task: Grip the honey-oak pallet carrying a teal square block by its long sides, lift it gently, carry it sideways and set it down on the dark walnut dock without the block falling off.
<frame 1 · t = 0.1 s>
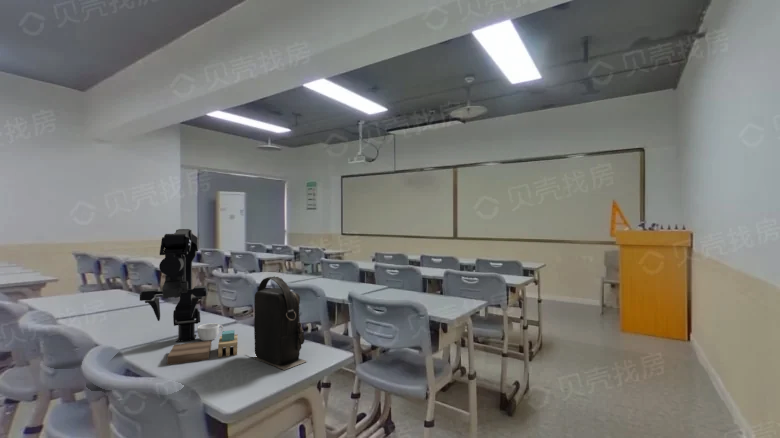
hand: (175, 319, 118), 15 cm above the table, fingers open, 9 cm apart
pallet: (228, 351, 130), on the table, touching teal square block
dock: (190, 355, 125), on the table
teal square block: (228, 339, 130), point 4 cm above the table, touching pallet
teacup: (210, 339, 144), on the table
shoulder bag: (275, 359, 122), on the table
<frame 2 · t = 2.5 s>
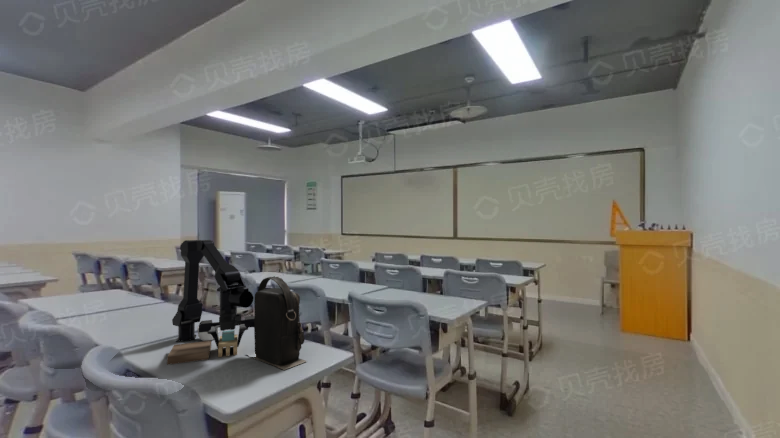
hand: (228, 347, 130), 1 cm above the table, fingers closed on pallet, 6 cm apart
pallet: (228, 351, 130), on the table, touching teal square block, gripper
everything else where it was.
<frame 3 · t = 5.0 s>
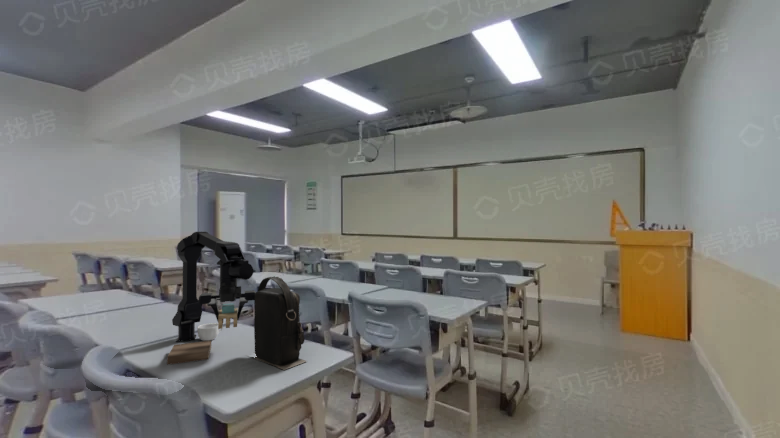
hand: (228, 320, 130), 11 cm above the table, fingers closed on pallet, 6 cm apart
pallet: (228, 324, 130), point 10 cm above the table, touching teal square block, gripper
teal square block: (228, 311, 130), point 14 cm above the table, touching pallet
everything else where it was.
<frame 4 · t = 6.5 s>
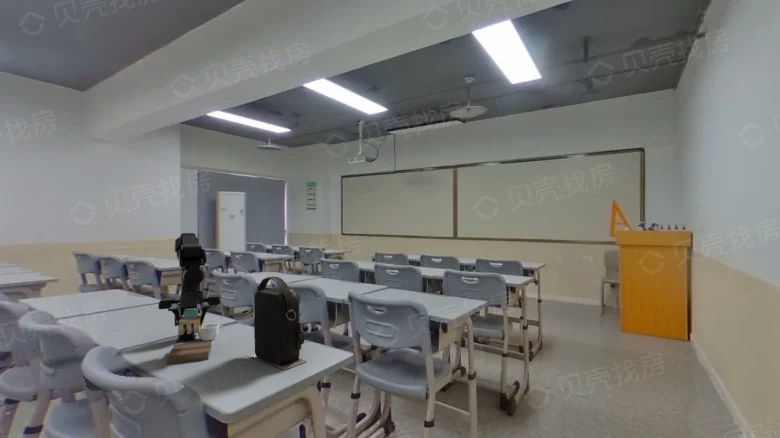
hand: (191, 326, 126), 10 cm above the table, fingers closed on pallet, 6 cm apart
pallet: (190, 329, 126), point 9 cm above the table, touching teal square block, gripper
teal square block: (191, 316, 126), point 13 cm above the table, touching pallet
everything else where it was.
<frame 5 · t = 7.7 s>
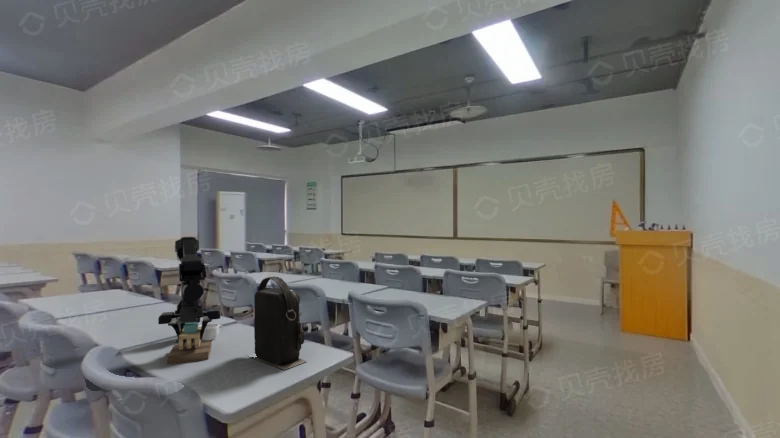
hand: (190, 340, 126), 5 cm above the table, fingers closed on pallet, 6 cm apart
pallet: (190, 344, 125), point 4 cm above the table, touching teal square block, gripper
teal square block: (190, 331, 126), point 8 cm above the table, touching pallet
everything else where it was.
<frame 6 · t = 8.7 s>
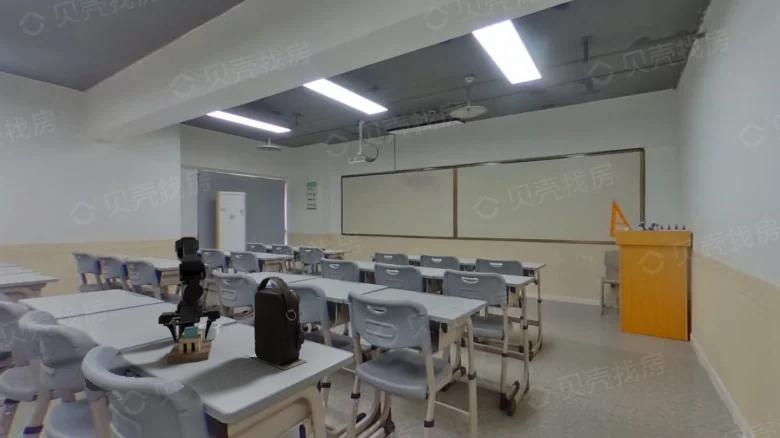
hand: (190, 340, 126), 5 cm above the table, fingers open, 9 cm apart
pallet: (190, 348, 125), point 2 cm above the table, touching teal square block, dock
teal square block: (191, 335, 126), point 7 cm above the table, touching pallet
everything else where it was.
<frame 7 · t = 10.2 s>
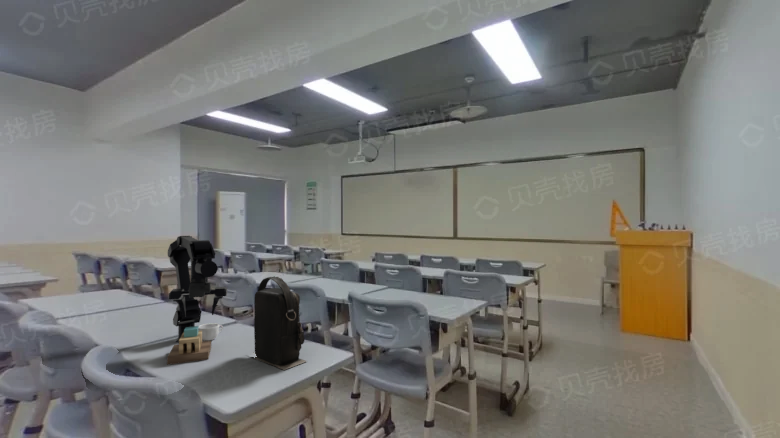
hand: (198, 315, 134), 12 cm above the table, fingers open, 9 cm apart
nothing on the table moved.
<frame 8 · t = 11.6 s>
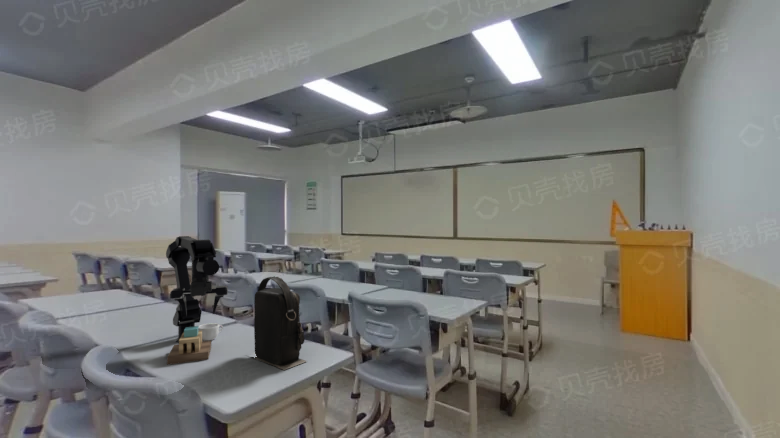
hand: (200, 314, 134), 12 cm above the table, fingers open, 9 cm apart
nothing on the table moved.
at the end: pallet 0.0 cm off-centre on the dock, point 2.5 cm above the dock's base; teal square block 0.1 cm off-centre on the pallet, point 4.5 cm above the pallet's base; the gripper is holding nothing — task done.
